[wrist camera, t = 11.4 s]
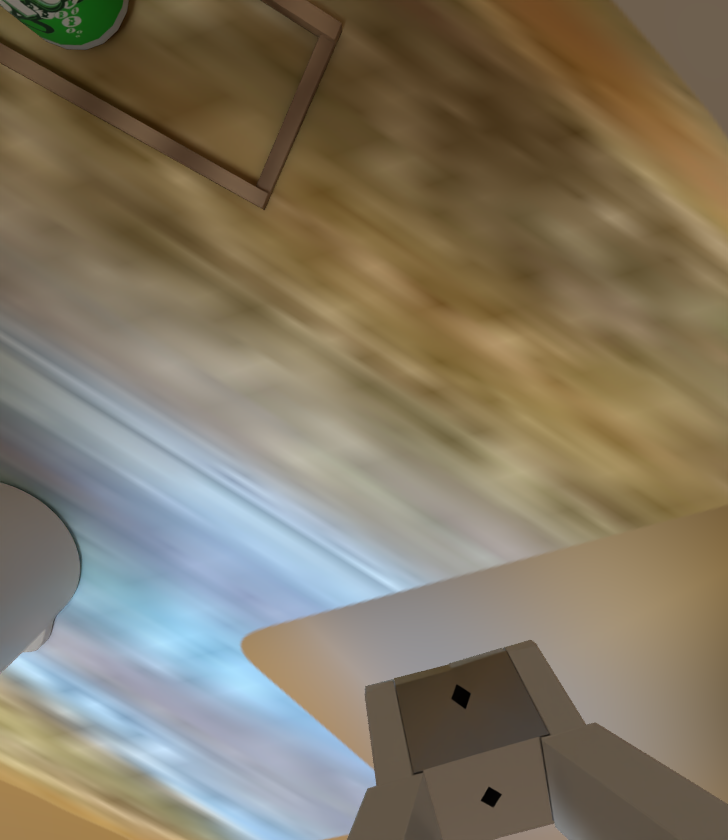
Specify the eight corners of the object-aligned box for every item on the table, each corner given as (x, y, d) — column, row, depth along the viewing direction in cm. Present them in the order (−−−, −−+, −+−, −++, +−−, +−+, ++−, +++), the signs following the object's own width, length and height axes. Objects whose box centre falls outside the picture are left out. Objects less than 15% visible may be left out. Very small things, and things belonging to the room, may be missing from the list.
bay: (341, 31, 30) (341, 5, 27) (264, 210, 33) (256, 203, 30) (-23, -204, 26) (-69, -264, 23) (-75, 21, 29) (-121, -8, 26)
